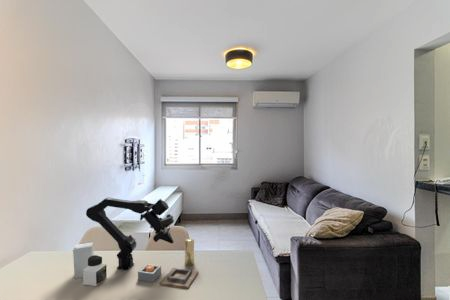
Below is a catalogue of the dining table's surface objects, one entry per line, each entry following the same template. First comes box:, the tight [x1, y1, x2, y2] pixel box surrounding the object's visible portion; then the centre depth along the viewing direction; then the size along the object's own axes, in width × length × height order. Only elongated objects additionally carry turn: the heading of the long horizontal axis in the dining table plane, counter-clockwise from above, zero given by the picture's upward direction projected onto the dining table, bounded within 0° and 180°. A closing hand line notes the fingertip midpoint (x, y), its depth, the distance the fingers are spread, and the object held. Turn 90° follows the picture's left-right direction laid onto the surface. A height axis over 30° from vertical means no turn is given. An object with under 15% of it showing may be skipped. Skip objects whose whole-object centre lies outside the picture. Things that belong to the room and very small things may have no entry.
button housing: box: [137, 263, 162, 283], centre depth 122 cm, size 8×8×4 cm
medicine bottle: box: [82, 254, 107, 287], centre depth 118 cm, size 7×7×12 cm
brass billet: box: [184, 238, 195, 267], centre depth 135 cm, size 5×5×13 cm
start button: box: [146, 264, 154, 272], centre depth 122 cm, size 4×4×3 cm
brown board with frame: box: [159, 267, 199, 290], centre depth 121 cm, size 14×14×2 cm
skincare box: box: [72, 242, 94, 279], centre depth 124 cm, size 8×6×15 cm
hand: (172, 242), depth 132 cm, fingers closed
